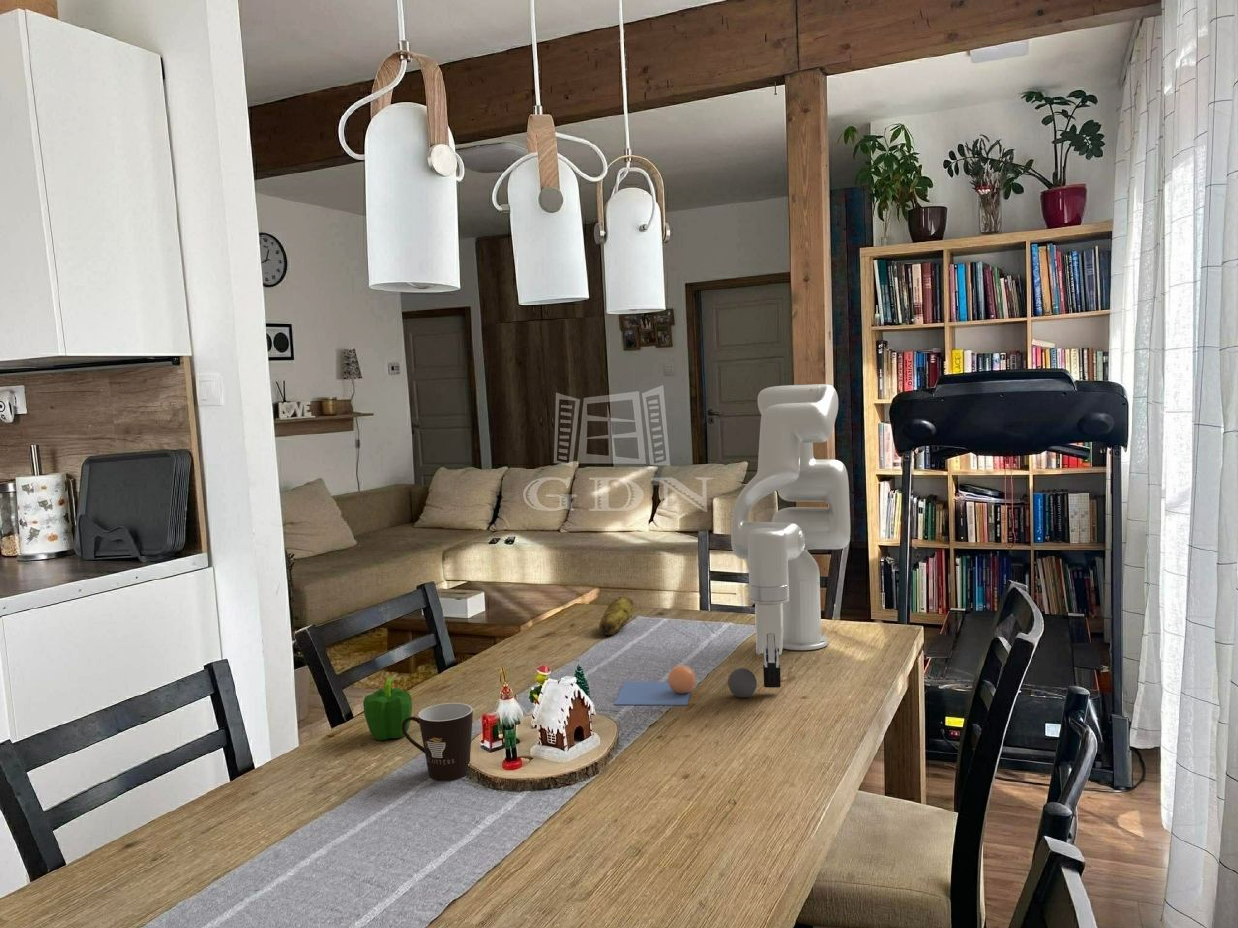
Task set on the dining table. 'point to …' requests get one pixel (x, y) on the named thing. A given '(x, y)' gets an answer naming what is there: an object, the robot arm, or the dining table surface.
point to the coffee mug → (445, 739)
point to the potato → (616, 615)
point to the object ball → (681, 679)
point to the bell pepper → (387, 711)
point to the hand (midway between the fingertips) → (772, 685)
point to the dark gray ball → (742, 682)
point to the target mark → (650, 694)
